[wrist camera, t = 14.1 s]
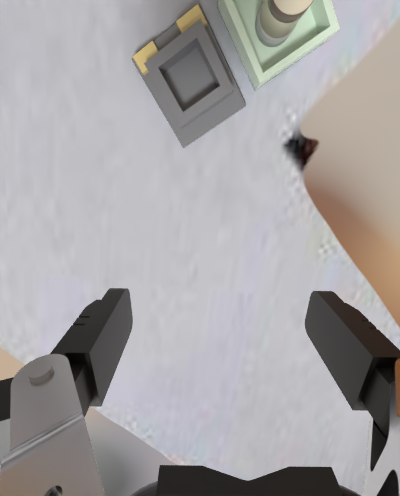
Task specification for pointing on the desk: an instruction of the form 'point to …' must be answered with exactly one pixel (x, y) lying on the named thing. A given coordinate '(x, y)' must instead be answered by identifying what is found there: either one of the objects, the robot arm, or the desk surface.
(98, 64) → the desk surface
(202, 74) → the holder
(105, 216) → the desk surface
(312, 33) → the tray
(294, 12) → the grey beige cylinder
